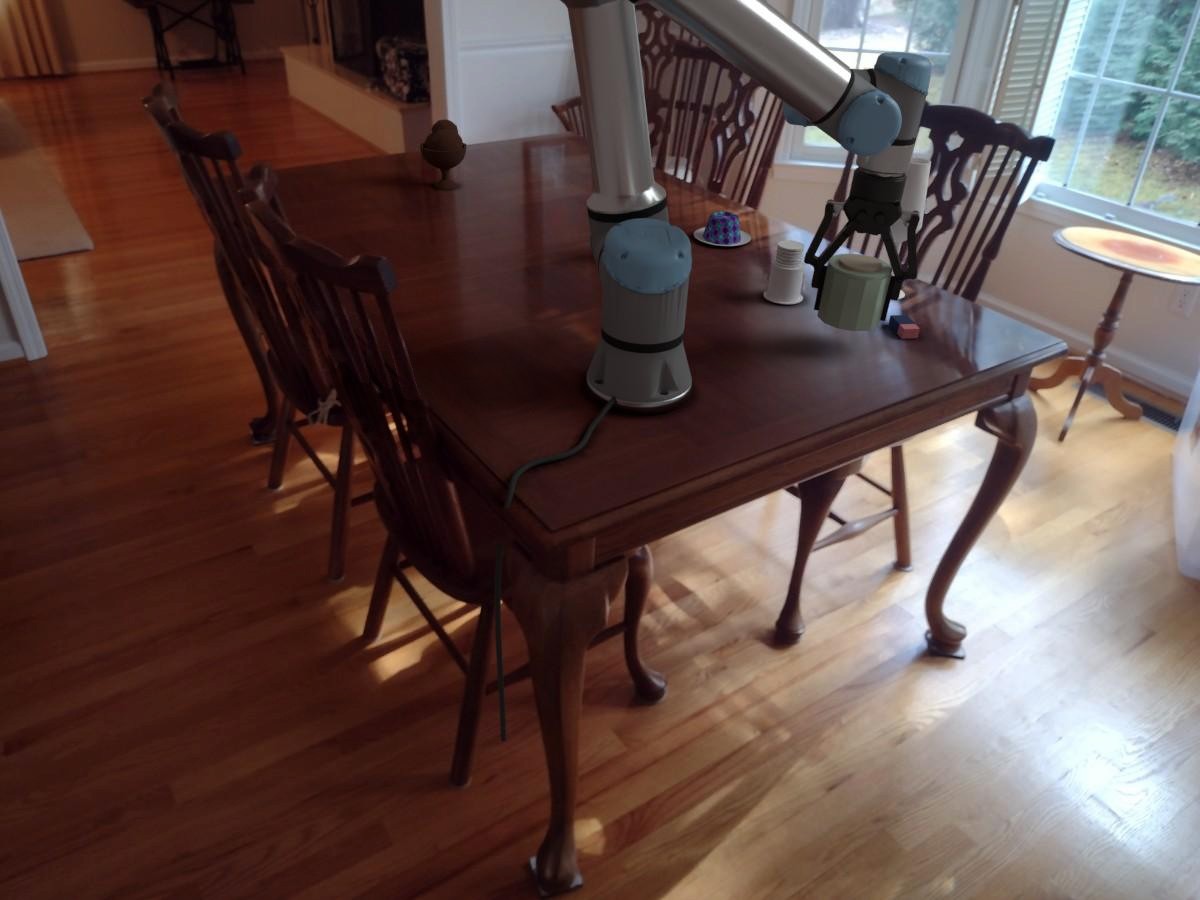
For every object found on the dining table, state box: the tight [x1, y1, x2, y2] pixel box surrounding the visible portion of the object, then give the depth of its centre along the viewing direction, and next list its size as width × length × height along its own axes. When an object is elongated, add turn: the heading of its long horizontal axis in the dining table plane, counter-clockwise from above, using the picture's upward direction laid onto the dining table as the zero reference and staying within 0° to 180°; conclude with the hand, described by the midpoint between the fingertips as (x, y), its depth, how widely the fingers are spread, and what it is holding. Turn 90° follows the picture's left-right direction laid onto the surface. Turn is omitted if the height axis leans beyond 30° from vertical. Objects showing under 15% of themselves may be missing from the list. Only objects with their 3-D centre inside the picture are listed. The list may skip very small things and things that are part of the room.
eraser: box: [888, 314, 921, 340], centre depth 146 cm, size 6×3×2 cm, turn 8°
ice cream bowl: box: [419, 119, 467, 191], centre depth 204 cm, size 11×11×15 cm
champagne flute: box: [889, 156, 932, 300], centre depth 155 cm, size 7×7×24 cm
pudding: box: [693, 210, 752, 247], centre depth 181 cm, size 12×12×5 cm
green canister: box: [816, 253, 892, 332], centre depth 136 cm, size 10×10×10 cm
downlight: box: [763, 239, 807, 305], centre depth 154 cm, size 8×7×10 cm
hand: (849, 312), depth 138 cm, fingers closed on green canister, 10 cm apart
